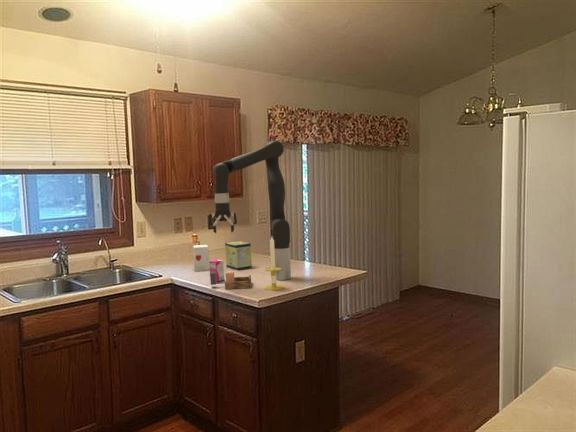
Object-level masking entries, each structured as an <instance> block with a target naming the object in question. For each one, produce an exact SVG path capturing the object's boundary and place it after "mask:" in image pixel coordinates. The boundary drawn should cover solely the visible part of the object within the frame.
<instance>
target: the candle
mask: <svg viewBox="0 0 576 432" xmlns="http://www.w3.org/2000/svg"><path fill="white" fill-rule="evenodd" d="M269 246H270V247H269V248H270V249H269V251H270V267H266V268H265V269H264V271H266V272H270V280H271V284H270V285H266V286H264V289H265V290H266V291H280V290H283V289H284V288H285V287H284V285H281V284H277V280H276V271H279V270H281V268H280V267H275V250H274V240H273V236H271V238H270V240H269Z"/></svg>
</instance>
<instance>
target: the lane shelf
mask: <svg viewBox="0 0 576 432" xmlns="http://www.w3.org/2000/svg"><path fill="white" fill-rule="evenodd" d="M251 288H252V275H251V274H248V276H234V282H226V281H225V284H224V289H225V290H236V289H238V290H239V289H240V290H241V289H251Z"/></svg>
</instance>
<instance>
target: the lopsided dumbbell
mask: <svg viewBox="0 0 576 432" xmlns="http://www.w3.org/2000/svg"><path fill="white" fill-rule="evenodd" d="M234 277H235V270H228V271H227V270H226V271H225V282H234ZM210 278H211V281H210V286H212V285H214V286H215V285H222V284H223V285H225V282H223V281H221V282H216V272H211V273H210V272H209V279H210Z"/></svg>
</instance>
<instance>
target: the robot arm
mask: <svg viewBox="0 0 576 432" xmlns="http://www.w3.org/2000/svg"><path fill="white" fill-rule="evenodd" d="M284 151H285V147H284V145H283V143H281V142H280V141H278V140H272V141H267V142H266V143H265V144H264V146H263V147H261V148H260V149H256V150H253V151H249V152H247V153H243V154H240V155H238V156H236V157H233V158H230V159H229V160H225V161H222V162H219V163H216V164H215V165H213V167H212V174H213V175H214V176H215V183H214V208H215V209H214V211H215V212H214V213H211V212H210V213H209V223H208V224H209V226H212V228H213V230H212V232H213V233H214V234H217V224H218V222H228V223H229V224H230V233H234V231H235V225H237V223H238V219H237V218H238V217H237V212H231V207H230V205H231V204H230V195H229V178H230V177H229V174H231V173H234V172H238V171H241V170H244V169H246V168H249V167H250V166H253V165H255V164H258V163H260V162H262V161H265V165H266V167H265V168H266V177H267V178H266V181H267V191H268V193H267V194H268V199H269V205H270V213H271V214H270V215H271V216H270V228H271V230H272V238H273V240H274V250H275V267H280V268H281V270H279V271H276V281H285V280H291V279H292V271H291V267H292V266H291V252H290V251H291V249H290V247H291V246H290V243H291V228H290V227H291V225H290V223H289V221H288V220H286V216H285V201H286V187H285V186H286V185H285V180H284V177H283V174H282V171H281V169H280V160H279V159H280V157H281V156H282V155H283V154H284ZM231 216H232V217H233V220H234V221H233V220H232V219H231V218H230V217H231ZM214 217H215V218H216V220H215V221H214V222H213V218H214Z"/></svg>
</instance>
